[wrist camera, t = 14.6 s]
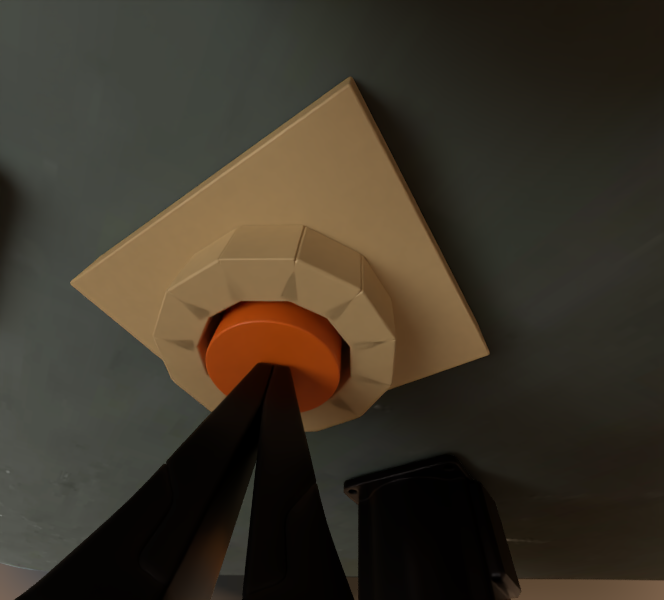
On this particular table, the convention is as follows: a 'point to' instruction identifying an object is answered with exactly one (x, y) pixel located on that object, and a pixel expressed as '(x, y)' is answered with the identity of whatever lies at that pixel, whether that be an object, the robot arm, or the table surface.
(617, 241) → the table surface
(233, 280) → the control block
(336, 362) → the button
